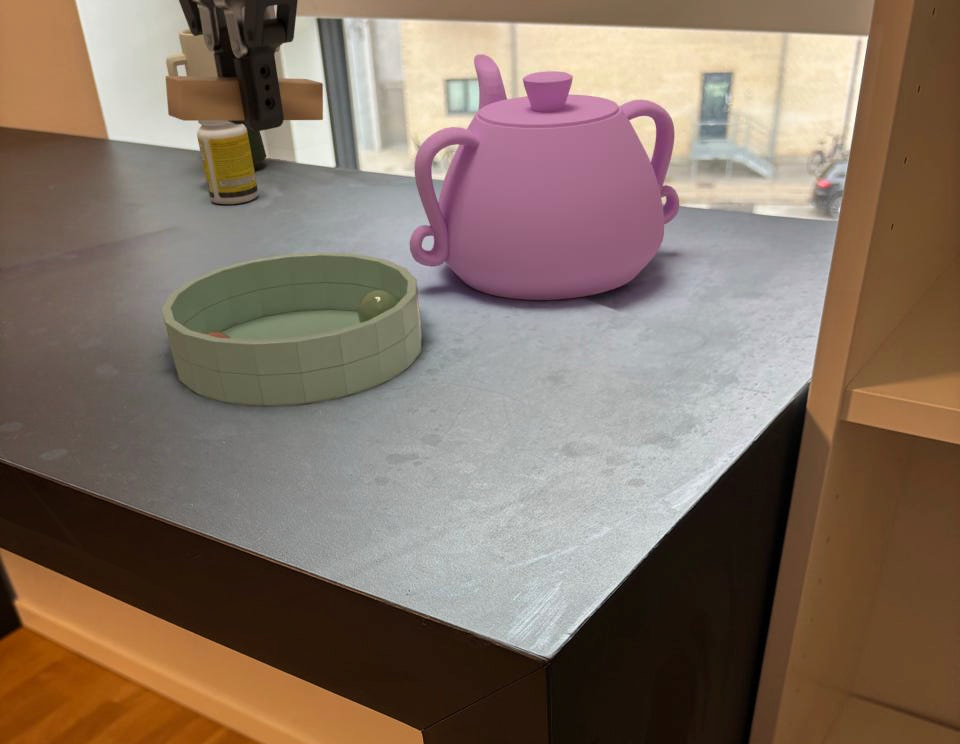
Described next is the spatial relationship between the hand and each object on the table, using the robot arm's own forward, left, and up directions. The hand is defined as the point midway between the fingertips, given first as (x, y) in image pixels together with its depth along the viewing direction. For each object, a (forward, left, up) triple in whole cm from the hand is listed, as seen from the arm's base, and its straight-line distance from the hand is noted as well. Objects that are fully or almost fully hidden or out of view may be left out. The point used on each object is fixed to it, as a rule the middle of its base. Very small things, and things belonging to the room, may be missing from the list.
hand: (255, 123), depth 60 cm
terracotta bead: (-6, -3, -13) cm, 14 cm away
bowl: (0, -1, -14) cm, 14 cm away
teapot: (+23, +2, -14) cm, 27 cm away
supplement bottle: (+15, +39, -14) cm, 44 cm away
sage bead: (+5, -3, -11) cm, 12 cm away
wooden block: (0, 0, 0) cm, 1 cm away
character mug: (+21, +50, -14) cm, 56 cm away
